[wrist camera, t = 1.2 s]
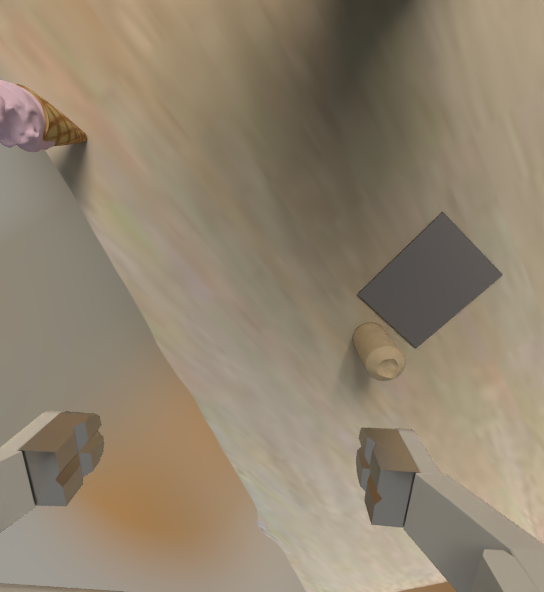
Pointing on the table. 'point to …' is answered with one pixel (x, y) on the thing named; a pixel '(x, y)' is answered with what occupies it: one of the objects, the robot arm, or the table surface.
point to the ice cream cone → (33, 121)
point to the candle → (378, 352)
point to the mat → (430, 281)
